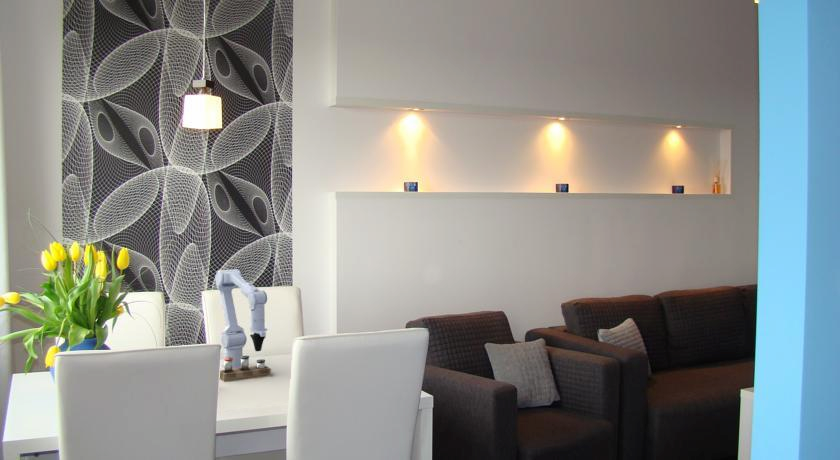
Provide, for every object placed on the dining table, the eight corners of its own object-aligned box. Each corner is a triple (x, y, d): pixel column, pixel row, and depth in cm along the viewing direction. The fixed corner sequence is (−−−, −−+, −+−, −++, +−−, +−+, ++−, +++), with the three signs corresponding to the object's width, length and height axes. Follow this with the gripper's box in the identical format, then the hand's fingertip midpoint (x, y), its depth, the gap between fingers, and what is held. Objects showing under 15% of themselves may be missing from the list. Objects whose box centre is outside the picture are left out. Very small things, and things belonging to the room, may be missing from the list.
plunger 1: (239, 369, 310) (239, 356, 310) (247, 368, 312) (247, 355, 312) (242, 370, 307) (241, 357, 307) (250, 369, 309) (250, 356, 309)
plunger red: (223, 371, 306) (222, 358, 306) (231, 370, 308) (231, 357, 308) (225, 373, 303) (225, 359, 303) (234, 371, 305) (233, 358, 305)
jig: (218, 377, 308) (218, 370, 308) (264, 371, 318) (264, 365, 318) (224, 381, 301) (224, 374, 301) (270, 375, 311) (270, 368, 311)
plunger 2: (255, 372, 314) (255, 360, 313) (263, 371, 315) (263, 359, 315) (258, 374, 311) (258, 361, 310) (266, 373, 312) (266, 360, 312)
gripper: (272, 320, 307) (272, 352, 308) (261, 316, 320) (261, 347, 320) (256, 322, 304) (256, 354, 304) (245, 317, 316) (245, 348, 317)
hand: (258, 350), depth 312 cm, fingers closed
